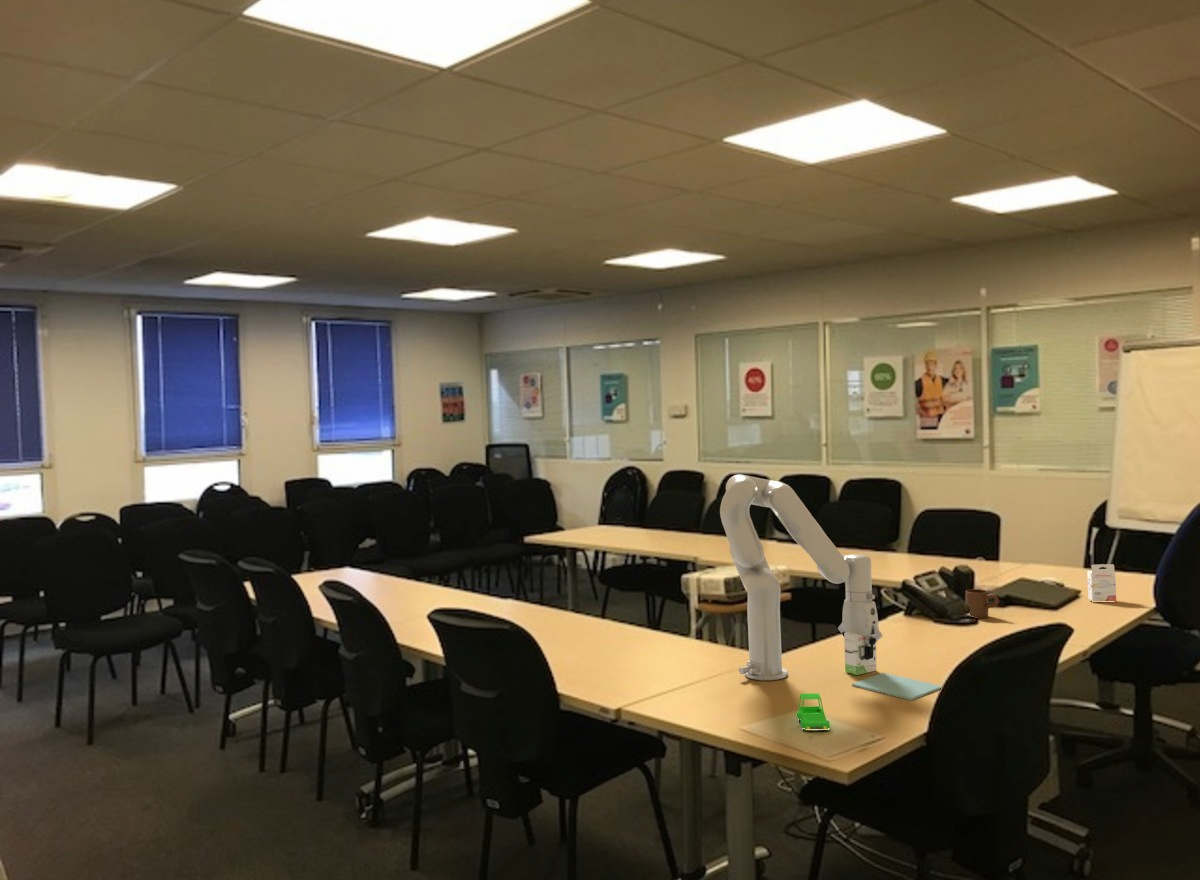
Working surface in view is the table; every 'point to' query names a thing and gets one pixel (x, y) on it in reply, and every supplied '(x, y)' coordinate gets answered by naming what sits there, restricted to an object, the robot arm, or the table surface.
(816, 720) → the toy car
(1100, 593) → the ink cartridge box
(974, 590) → the mug
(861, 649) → the white cardboard box
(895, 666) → the table surface
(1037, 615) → the table surface
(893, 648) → the table surface
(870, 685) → the mat
